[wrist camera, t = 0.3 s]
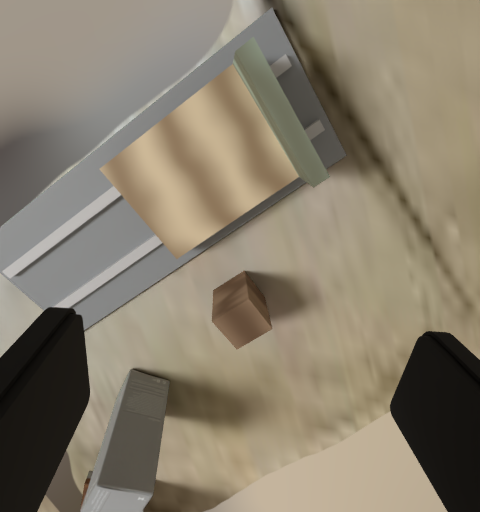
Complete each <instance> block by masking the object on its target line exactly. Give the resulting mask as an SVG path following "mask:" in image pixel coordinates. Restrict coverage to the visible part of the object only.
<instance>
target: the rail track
mask: <svg viewBox="0 0 480 512" xmlns="http://www.w3.org/2000/svg"><path fill="white" fill-rule="evenodd" d="M252 37H254V38H255V40H256V42H257V44H258V46H259V48H260V49H261V51H262V53H263V55H264V57H265V59H266V60H267V62H268V64H269V66H270V68H271V70H272V71H273V73H274V75H275V77H276V79H277V81H278V83H279V84H280V86H281V88H282V90H283V92H284V94H285V95H286V97H287V99H288V101H289V103H290V105H291V106H292V108H293V110H294V112H295V114H296V116H297V117H298V119H299V121H300V123H301V125H302V127H303V128H304V130H305V132H306V134H307V136H308V138H309V139H310V141H311V143H312V145H313V147H314V149H315V150H316V152H317V154H318V156H319V158H320V160H321V161H322V163H323V165H324V167H325V169H327V168H329V167H330V166H332V165H333V164H335V163H336V162H338V161H339V160H341V159H342V158H344V157H345V156H347V155H346V153H345V151H344V149H343V147H342V145H341V143H340V141H339V139H338V137H337V135H336V133H335V131H334V129H333V127H332V125H331V123H330V121H329V119H328V117H327V115H326V113H325V111H324V109H323V108H322V106H321V104H320V102H319V100H318V98H317V96H316V94H315V92H314V90H313V88H312V86H311V84H310V82H309V80H308V78H307V76H306V74H305V72H304V70H303V68H302V66H301V64H300V62H299V60H298V58H297V56H296V54H295V52H294V50H293V48H292V46H291V44H290V42H289V40H288V38H287V36H286V34H285V32H284V30H283V28H282V26H281V24H280V22H279V21H278V19H277V17H276V15H275V13H274V11H273V9H272V8H271V9H270V10H268V11H267V12H266V13H265V14H263V15H262V16H261V17H260V18H258V19H257V20H256V21H255V22H253V23H252V24H251V25H250V26H248V27H247V28H246V29H245V30H244V31H242V32H241V33H240V34H239V35H237V36H236V37H235V38H234V39H232V40H231V41H230V42H229V43H227V44H226V45H225V46H224V47H222V48H221V49H220V50H219V51H218V52H216V53H215V54H214V55H213V56H211V57H210V58H209V59H208V60H206V61H205V62H204V63H203V64H201V65H200V66H199V67H198V68H196V69H195V70H194V71H193V72H192V73H190V74H189V75H188V76H187V77H185V78H184V79H183V80H182V81H180V82H179V83H178V84H177V85H175V86H174V87H173V88H172V89H170V90H169V91H168V92H167V93H166V94H164V95H163V96H162V97H161V98H159V99H158V100H157V101H156V102H154V103H153V104H152V105H151V106H149V107H148V108H147V109H146V110H144V111H143V112H142V113H141V114H140V115H138V116H137V117H136V118H135V119H133V120H132V121H131V122H130V123H128V124H127V125H126V126H125V127H123V128H122V129H121V130H120V131H118V132H117V133H116V134H115V135H113V136H112V137H111V138H110V139H109V140H107V141H106V142H105V143H104V144H102V145H101V146H100V147H99V148H97V149H96V150H95V151H94V152H92V153H91V154H90V155H89V156H87V157H86V158H85V159H84V160H83V161H81V162H80V163H79V164H78V165H76V166H75V167H74V168H73V169H71V170H70V171H69V172H68V173H66V174H65V175H64V176H63V177H61V178H60V179H59V180H58V181H57V182H55V183H54V184H53V185H52V186H50V187H49V188H48V189H47V190H45V191H44V192H43V193H42V194H40V195H39V196H38V197H37V198H35V199H34V200H33V201H32V202H31V203H29V204H28V205H27V206H26V207H24V208H23V209H22V210H21V211H19V212H18V213H17V214H16V215H14V216H13V217H12V218H11V219H9V220H8V221H7V222H6V223H5V224H3V225H2V226H1V227H0V273H1V274H2V275H3V276H4V277H6V278H7V279H8V280H9V281H10V282H11V283H13V284H14V285H15V286H16V287H17V288H18V289H20V290H21V291H22V292H23V293H24V294H25V295H27V296H28V297H29V298H30V299H31V300H32V301H34V302H35V303H36V304H37V305H38V306H39V307H40V308H42V309H43V310H44V311H45V310H46V309H47V308H48V307H60V308H73V309H74V310H75V311H76V314H80V315H82V318H83V326H84V330H86V329H87V328H89V327H90V326H92V325H93V324H95V323H96V322H98V321H99V320H101V319H102V318H104V317H105V316H107V315H108V314H110V313H111V312H113V311H114V310H116V309H117V308H119V307H120V306H122V305H123V304H125V303H126V302H128V301H129V300H131V299H132V298H134V297H135V296H137V295H138V294H140V293H141V292H143V291H144V290H146V289H147V288H149V287H150V286H152V285H153V284H155V283H156V282H158V281H159V280H161V279H162V278H164V277H165V276H167V275H168V274H170V273H171V272H173V271H174V270H176V269H177V268H179V267H180V266H182V265H183V264H185V263H186V262H188V261H189V260H191V259H192V258H194V257H195V256H197V255H198V254H200V253H201V252H203V251H204V250H206V249H207V248H209V247H210V246H212V245H213V244H215V243H216V242H218V241H219V240H221V239H222V238H224V237H225V236H227V235H228V234H230V233H231V232H233V231H234V230H236V229H237V228H239V227H240V226H242V225H243V224H245V223H246V222H248V221H249V220H251V219H252V218H254V217H255V216H257V215H258V214H260V213H261V212H263V211H264V210H266V209H267V208H269V207H270V206H272V205H273V204H275V203H276V202H278V201H279V200H281V199H282V198H284V197H285V196H287V195H288V194H290V193H291V192H293V191H294V190H296V189H297V188H299V187H300V186H302V185H303V184H305V183H306V182H305V181H304V180H303V179H301V178H300V177H298V178H297V179H295V180H294V181H292V182H291V183H289V184H288V185H286V186H285V187H283V188H282V189H280V190H279V191H277V192H276V193H274V194H273V195H271V196H270V197H268V198H267V199H265V200H264V201H262V202H261V203H259V204H258V205H256V206H255V207H253V208H252V209H251V210H249V211H248V212H246V213H245V214H243V215H242V216H240V217H239V218H237V219H236V220H234V221H233V222H231V223H230V224H228V225H227V226H225V227H224V228H222V229H221V230H219V231H218V232H216V233H215V234H213V235H212V236H210V237H209V238H207V239H206V240H205V241H203V242H202V243H200V244H199V245H197V246H196V247H194V248H193V249H191V250H190V251H188V252H187V253H185V254H184V255H182V256H181V257H179V258H178V259H176V258H175V257H174V256H173V254H172V253H171V252H170V251H169V250H168V249H167V247H166V246H165V245H164V244H163V243H162V242H161V240H160V239H159V238H158V237H157V236H156V235H155V233H154V232H153V231H152V230H151V229H150V228H149V226H148V225H147V224H146V223H145V222H144V221H143V219H142V218H141V217H140V216H139V215H138V214H137V212H136V211H135V210H134V209H133V208H132V207H131V205H130V204H129V203H128V202H127V201H126V200H125V199H124V197H123V196H122V195H121V194H120V193H119V192H118V190H117V189H116V188H115V187H114V186H113V185H112V183H111V182H110V181H109V180H108V179H107V178H106V176H105V175H104V174H103V173H102V172H101V171H100V168H101V167H103V166H104V165H105V164H106V163H108V162H109V161H110V160H111V159H113V158H114V157H115V156H116V155H118V154H119V153H120V152H122V151H123V150H124V149H125V148H127V147H128V146H129V145H130V144H132V143H133V142H134V141H135V140H137V139H138V138H139V137H141V136H142V135H143V134H144V133H146V132H147V131H148V130H149V129H151V128H152V127H153V126H154V125H156V124H157V123H158V122H160V121H161V120H162V119H163V118H165V117H166V116H167V115H168V114H170V113H171V112H172V111H173V110H175V109H176V108H177V107H179V106H180V105H181V104H182V103H184V102H185V101H186V100H187V99H189V98H190V97H191V96H192V95H194V94H195V93H196V92H198V91H199V90H200V89H201V88H203V87H204V86H205V85H206V84H208V83H209V82H210V81H211V80H213V79H214V78H215V77H217V76H218V75H219V74H220V73H222V72H223V71H224V70H225V69H227V68H228V67H229V66H230V65H232V64H233V59H234V54H235V51H236V50H237V49H239V48H240V47H241V46H242V45H244V44H245V43H246V42H247V41H249V40H250V39H251V38H252Z"/></svg>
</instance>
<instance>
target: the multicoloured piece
mask: <svg viewBox="0 0 480 512" xmlns="http://www.w3.org/2000/svg"><path fill="white" fill-rule="evenodd" d="M100 171H101V172H102V173H103V174H104V175H105V176H106V178H107V179H108V180H109V181H110V182H111V183H112V185H113V186H114V187H115V188H116V189H117V190H118V192H119V193H120V194H121V195H122V196H123V197H124V199H125V200H126V201H127V202H128V203H129V204H130V205H131V207H132V208H133V209H134V210H135V211H136V212H137V214H138V215H139V216H140V217H141V218H142V219H143V221H144V222H145V223H146V224H147V225H148V226H149V228H150V229H151V230H152V231H153V232H154V233H155V235H156V236H157V237H158V238H159V239H160V240H161V242H162V243H163V244H164V245H165V246H166V247H167V249H168V250H169V251H170V252H171V253H172V254H173V256H174V257H175V258H176V259H178V258H179V257H181V256H182V255H184V254H185V253H187V252H188V251H190V250H191V249H193V248H194V247H196V246H197V245H199V244H200V243H202V242H203V241H205V240H206V239H207V238H209V237H210V236H212V235H213V234H215V233H216V232H218V231H219V230H221V229H222V228H224V227H225V226H227V225H228V224H230V223H231V222H233V221H234V220H236V219H237V218H239V217H240V216H242V215H243V214H245V213H246V212H248V211H249V210H251V209H252V208H253V207H255V206H256V205H258V204H259V203H261V202H262V201H264V200H265V199H267V198H268V197H270V196H271V195H273V194H274V193H276V192H277V191H279V190H280V189H282V188H283V187H285V186H286V185H288V184H289V183H291V182H292V181H294V180H295V179H297V178H298V177H300V178H301V179H303V180H304V181H305V182H307V183H308V184H310V185H311V186H312V187H315V186H317V185H318V184H320V183H321V182H323V181H324V180H326V179H327V178H329V177H330V176H329V174H328V172H327V171H326V169H325V167H324V165H323V163H322V161H321V160H320V158H319V156H318V154H317V152H316V150H315V149H314V147H313V145H312V143H311V141H310V139H309V138H308V136H307V134H306V132H305V130H304V128H303V127H302V125H301V123H300V121H299V119H298V117H297V116H296V114H295V112H294V110H293V108H292V106H291V105H290V103H289V101H288V99H287V97H286V95H285V94H284V92H283V90H282V88H281V86H280V84H279V83H278V81H277V79H276V77H275V75H274V73H273V71H272V70H271V68H270V66H269V64H268V62H267V60H266V59H265V57H264V55H263V53H262V51H261V49H260V48H259V46H258V44H257V42H256V40H255V38H254V37H252V38H251V39H250V40H249V41H247V42H246V43H245V44H244V45H242V46H241V47H240V48H239V49H237V50H236V51H235V54H234V59H233V64H232V65H230V66H229V67H228V68H227V69H225V70H224V71H223V72H222V73H220V74H219V75H218V76H217V77H215V78H214V79H213V80H211V81H210V82H209V83H208V84H206V85H205V86H204V87H203V88H201V89H200V90H199V91H198V92H196V93H195V94H194V95H192V96H191V97H190V98H189V99H187V100H186V101H185V102H184V103H182V104H181V105H180V106H179V107H177V108H176V109H175V110H173V111H172V112H171V113H170V114H168V115H167V116H166V117H165V118H163V119H162V120H161V121H160V122H158V123H157V124H156V125H154V126H153V127H152V128H151V129H149V130H148V131H147V132H146V133H144V134H143V135H142V136H141V137H139V138H138V139H137V140H135V141H134V142H133V143H132V144H130V145H129V146H128V147H127V148H125V149H124V150H123V151H122V152H120V153H119V154H118V155H116V156H115V157H114V158H113V159H111V160H110V161H109V162H108V163H106V164H105V165H104V166H103V167H101V168H100Z"/></svg>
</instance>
